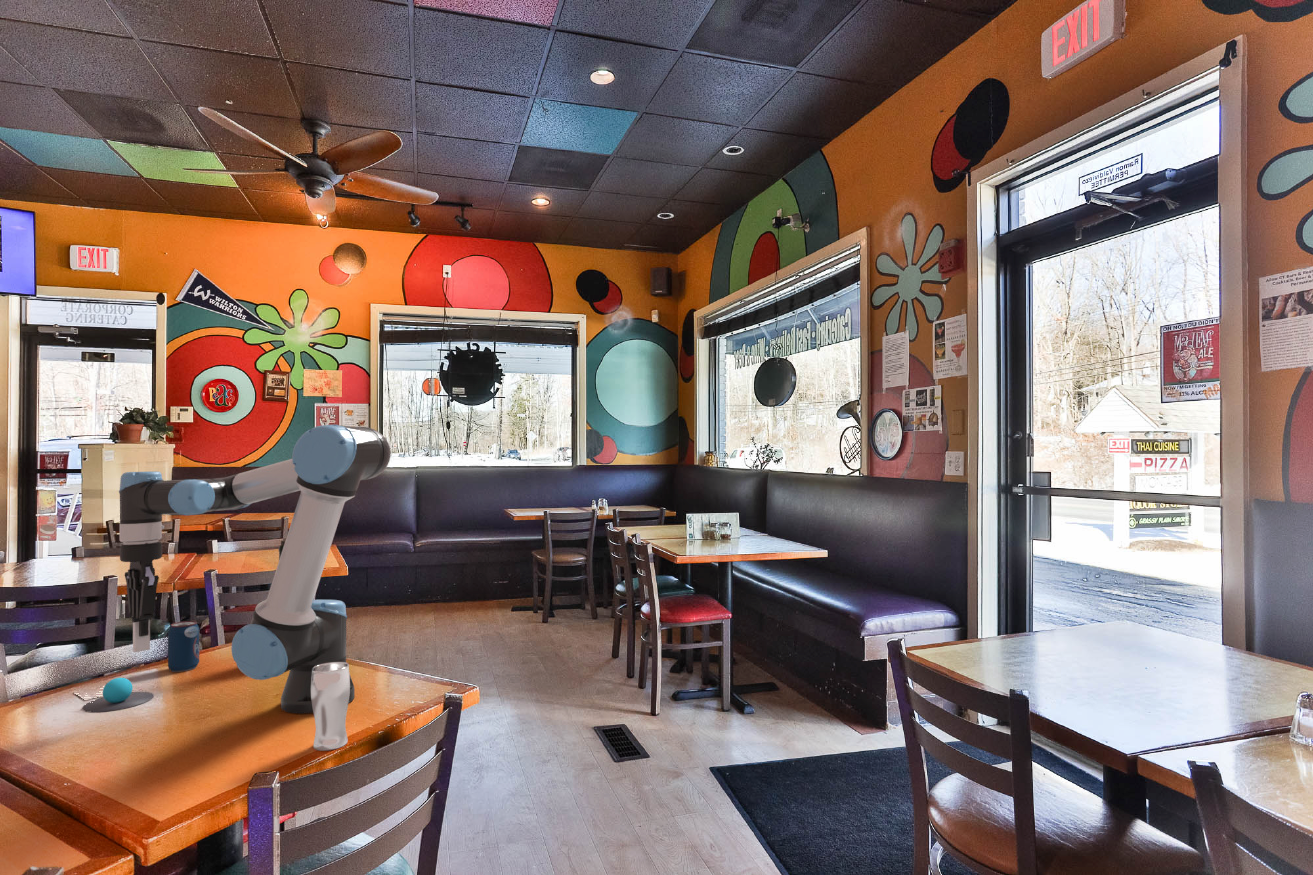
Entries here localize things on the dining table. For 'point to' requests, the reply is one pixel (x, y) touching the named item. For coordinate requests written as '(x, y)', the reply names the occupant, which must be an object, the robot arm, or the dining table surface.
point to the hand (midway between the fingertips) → (141, 650)
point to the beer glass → (330, 704)
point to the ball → (117, 690)
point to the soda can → (183, 646)
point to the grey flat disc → (106, 706)
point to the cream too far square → (90, 697)
